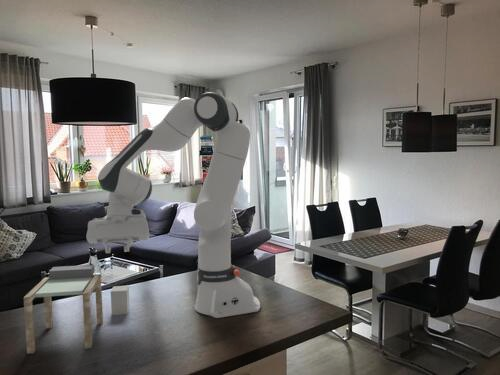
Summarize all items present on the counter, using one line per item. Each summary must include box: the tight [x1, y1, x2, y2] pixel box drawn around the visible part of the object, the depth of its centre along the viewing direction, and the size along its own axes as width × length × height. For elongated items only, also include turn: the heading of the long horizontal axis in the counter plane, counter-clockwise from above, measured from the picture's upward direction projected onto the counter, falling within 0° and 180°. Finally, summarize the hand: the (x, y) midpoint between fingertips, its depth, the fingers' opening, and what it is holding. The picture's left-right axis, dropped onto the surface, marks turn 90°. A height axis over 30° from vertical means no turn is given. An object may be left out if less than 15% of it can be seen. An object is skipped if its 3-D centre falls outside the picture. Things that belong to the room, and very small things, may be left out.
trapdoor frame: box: [23, 273, 104, 355], centre depth 115 cm, size 16×17×16 cm
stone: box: [110, 284, 130, 316], centre depth 133 cm, size 5×5×8 cm
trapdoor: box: [35, 264, 95, 298], centre depth 116 cm, size 12×16×4 cm
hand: (117, 251), depth 131 cm, fingers open, 5 cm apart
